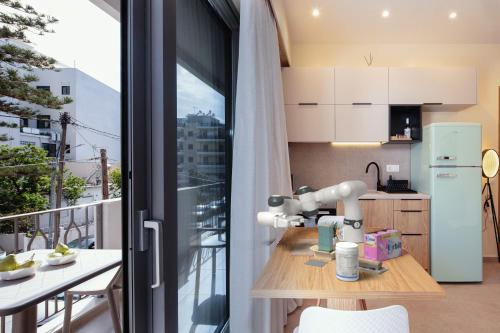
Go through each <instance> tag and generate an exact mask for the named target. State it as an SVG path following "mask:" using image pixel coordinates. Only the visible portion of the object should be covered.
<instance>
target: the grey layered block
mask: <svg viewBox="0 0 500 333" xmlns="http://www.w3.org/2000/svg"><path fill="white" fill-rule="evenodd" d="M383 264H384V262H383V261H375V260H371V259H366V258H364V257H361V256H359V272H365V273H370V274H373V275H381V274H383V273H385V272H387V271H389V268H388V267H384V266H383Z"/></svg>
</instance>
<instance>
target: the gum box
mask: <svg viewBox="0 0 500 333" xmlns="http://www.w3.org/2000/svg"><path fill="white" fill-rule="evenodd" d="M401 256H403V238H402V230H401V229H400V230H394V229H392V228H384V229H381V230H375V231H369V232H365V233H364V242H363V258H366V259H371V260H375V261H380V262H384V261H387V260H391V259H394V258H398V257H401Z"/></svg>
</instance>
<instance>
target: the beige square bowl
mask: <svg viewBox="0 0 500 333" xmlns="http://www.w3.org/2000/svg"><path fill="white" fill-rule="evenodd" d="M309 249H310V250H311V251H312V252H313V258H314V259H317V260H319V259H320V260H325V261H332V260H335V259H336V245H334V244H333V252H332V253H329V252H324V251H318V250H319V247H318V244H315V245H312V246H309Z"/></svg>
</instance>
